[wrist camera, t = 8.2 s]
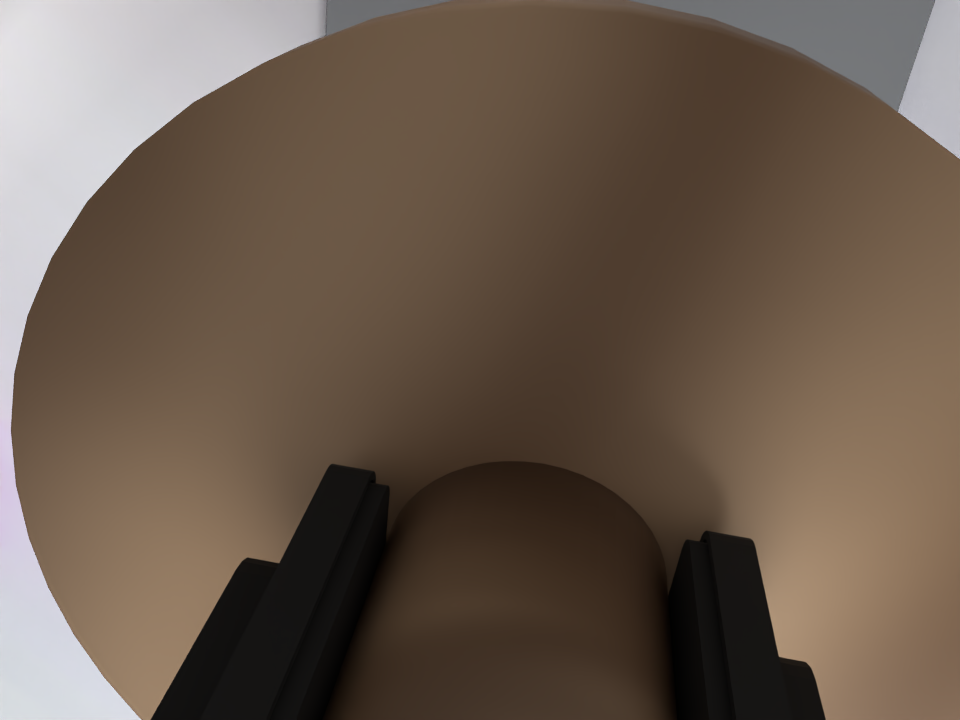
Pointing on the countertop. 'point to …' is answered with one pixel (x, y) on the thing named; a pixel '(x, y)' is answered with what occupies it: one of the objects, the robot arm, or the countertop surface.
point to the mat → (774, 30)
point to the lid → (515, 362)
